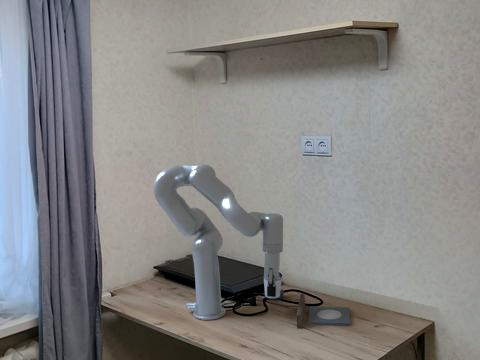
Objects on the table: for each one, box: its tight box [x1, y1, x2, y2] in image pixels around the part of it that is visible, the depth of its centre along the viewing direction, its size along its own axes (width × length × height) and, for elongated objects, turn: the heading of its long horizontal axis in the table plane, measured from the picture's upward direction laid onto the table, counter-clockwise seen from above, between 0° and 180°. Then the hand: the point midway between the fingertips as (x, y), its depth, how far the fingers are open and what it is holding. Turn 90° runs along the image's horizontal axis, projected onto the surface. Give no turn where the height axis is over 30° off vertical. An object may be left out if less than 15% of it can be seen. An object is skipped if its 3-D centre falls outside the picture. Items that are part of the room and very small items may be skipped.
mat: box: [307, 306, 351, 327], centre depth 201 cm, size 15×15×1 cm
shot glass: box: [263, 276, 283, 299], centre depth 203 cm, size 7×7×7 cm
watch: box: [267, 273, 285, 302], centre depth 222 cm, size 6×8×11 cm
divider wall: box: [296, 292, 306, 329], centre depth 202 cm, size 2×22×5 cm, turn 170°
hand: (272, 292), depth 203 cm, fingers closed on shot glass, 6 cm apart
